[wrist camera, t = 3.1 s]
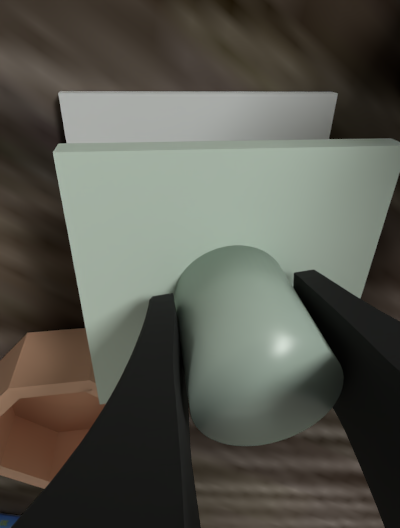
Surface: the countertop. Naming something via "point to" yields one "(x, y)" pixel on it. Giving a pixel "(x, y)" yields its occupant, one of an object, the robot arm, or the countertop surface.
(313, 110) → the mat
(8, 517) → the medicine box
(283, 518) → the countertop surface
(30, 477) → the bowl
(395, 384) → the robot arm
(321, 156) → the lid
